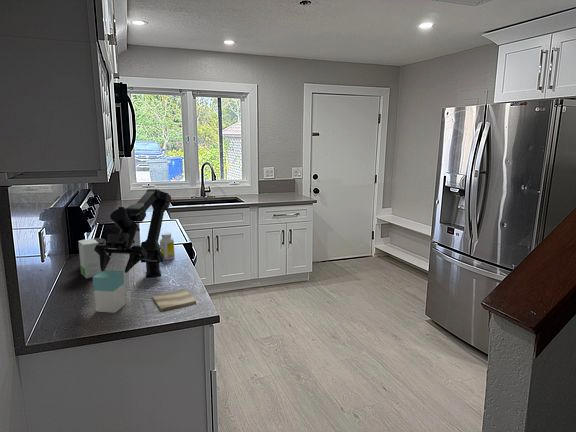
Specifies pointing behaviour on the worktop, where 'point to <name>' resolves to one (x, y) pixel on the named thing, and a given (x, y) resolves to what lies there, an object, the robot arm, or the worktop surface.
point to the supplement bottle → (167, 246)
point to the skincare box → (89, 258)
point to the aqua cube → (108, 280)
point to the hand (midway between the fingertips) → (113, 271)
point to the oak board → (173, 299)
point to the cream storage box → (110, 300)
